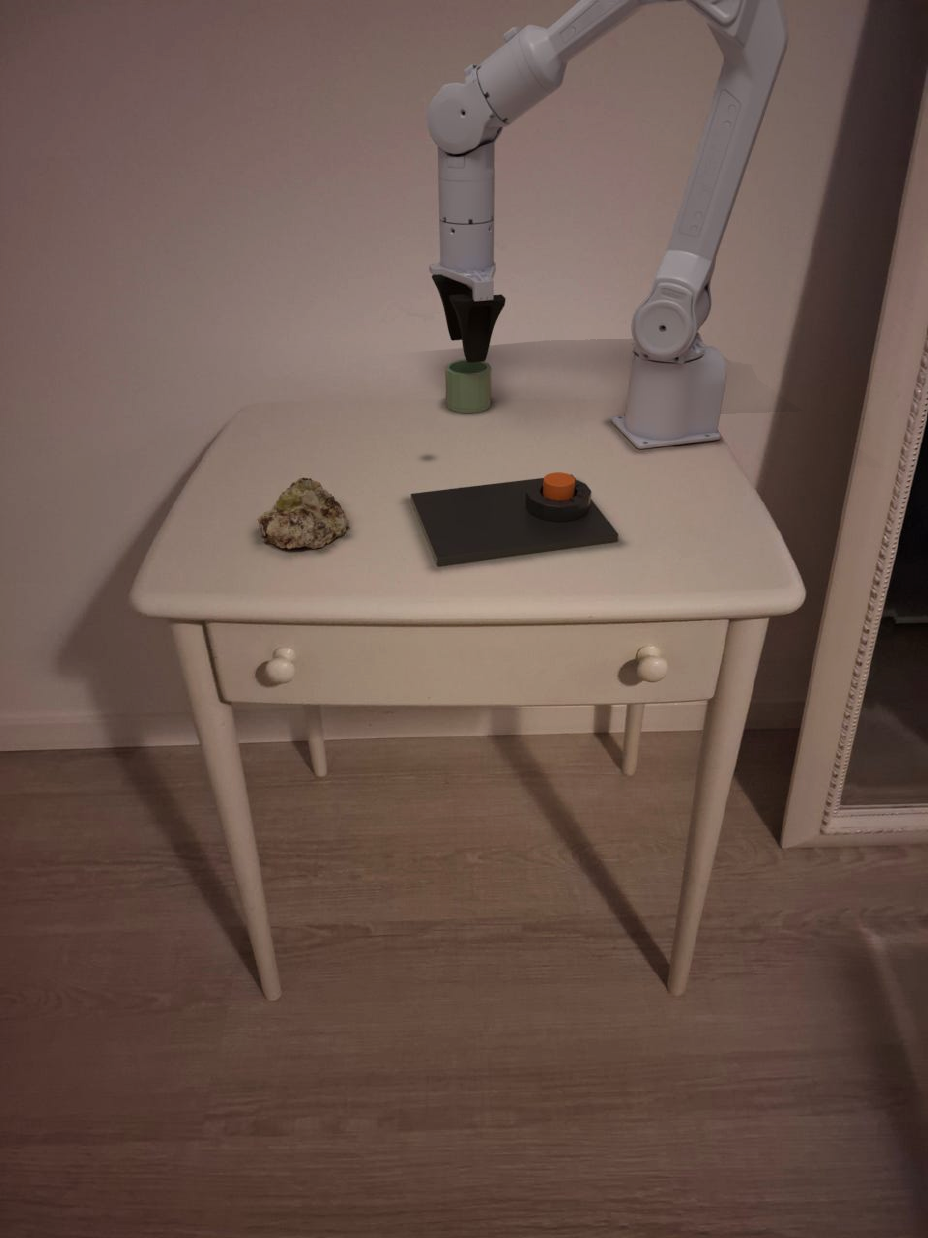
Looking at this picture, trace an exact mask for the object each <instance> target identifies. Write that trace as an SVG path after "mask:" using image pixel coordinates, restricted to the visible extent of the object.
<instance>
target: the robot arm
mask: <svg viewBox="0 0 928 1238" xmlns="http://www.w3.org/2000/svg"><path fill="white" fill-rule="evenodd" d="M680 2H684V3H686V4H687V5H688V6H689V7H690V8H691V9H693V10H694V11H695V12H696V13H697V14H698V15H699V16H700V17H701V18H703V20H704V21H705V22H706V25H707V27H708V29H709V30H710V33H711V34H712V36H713V39H714V40H715V42H716V44H717V46H718V48H719V50H720V52H721V54H722V56H723V63H722V66H721V69H720V72H719V76H718V79H717V83H716V86H715V89H714V92H713V96H712V99H711V102H710V104H709V105H710V106H709V109H708V111H707V114H706V115H707V116H706V119H705V122H704V126H703V128H702V132H701V135H700V139H699V142H698V145H697V149H696V152H695V156H694V159H693V162H692V166H691V169H690V172H689V175H688V178H687V182H686V185H685V188H684V192H683V195H682V199H681V202H680V204H679V208H678V212H677V216H676V218H675V222H674V224H673V228H672V232H671V235H670V238H669V241H668V242H669V243H668V244H667V247H666V251H665V254H664V256H663V259H662V260H661V263H660V265H659V268H658V269H657V272H656V274H655V276H654V280H653V283H652V286H651V289H650V290H649V291H650V292H649V293H648V295H646V297H645V299H644V300H643V301H642V302H641V303H640V304H639V305H638V306H637V308H636V309H635V310H634V313H633V315H632V319H631V324H630V325H631V336H632V339H633V343H632V351H631V360H630V370H629V380H628V390H627V401H626V407H625V408H626V410H625V414H624V415H615V416H612V417H611V419H610V421H611V423H612V424H613V425H614V426H615V427H616V428H617V429H618V430H619V431H620V432H621V433H622V435H624V436H625V437H626V438H627V439H628V440H629V441H630V442H631V443H632V444H633V445H634V446H635V448H637V449H641V450H643V449H652V448H661V447H669V446H679V445H686V444H695V443H703V442H711V441H712V442H713V441H719V440H720V439H721V434H720V433H719V432H718V430H719V425H720V419H721V413H722V409H723V408H722V407H723V403H724V396H725V390H726V383H727V366H726V361H725V357H724V355H723V353H722V352H721V350H719V348H717V346H713V345H705V343H704V342H703V339H702V337H701V334H700V333H699V330H700V328H701V327H702V326H703V325H704V323H705V322H706V320H707V319H708V318H709V315H710V313H711V311H712V304H713V303H712V301H713V300H712V293H711V282H712V278H713V275H714V272H715V268H716V262H717V256H718V253H719V250H720V247H721V244H722V241H723V239H724V235H725V233H726V230H727V226H728V224H729V220H730V218H731V214H732V212H733V209H734V206H735V202H736V200H737V197H738V193H739V191H740V188H741V186H742V182H743V180H744V176H745V173H746V170H747V167H748V165H749V162H750V158H751V155H752V153H753V150H754V147H755V145H756V141H757V138H758V134H759V132H760V129H761V126H762V123H763V120H764V116H765V114H766V112H767V108H768V106H769V102H770V99H771V97H772V94H773V92H774V91H773V90H774V88H775V84H776V82H777V78H778V75H779V72H780V70H781V67H782V64H783V61H784V58H785V55H786V52H787V49H788V44H789V38H790V36H789V28H788V24H787V23H788V22H787V16H786V12H785V7H784V1H783V0H578V2H577V3H575V4H574V6H572V7H571V8H570V9H569V10H568V11H567V12H565V13H564V14H563V15H562V16H561V17H560V18H558V19H557V20H556V21H555V22H553V23H552V24H551V25H550V26H549V27H548V28H546V27H543V26H539V25H536V24H527V25H526V26H525V27H523V28H522V29H521V27H520V26H514V27H513V26H512V27H511V28H510V29H508V30H507V31H506V32H505V33H504V34H503V40H504V42H505V43H504V44H503V45H501V46H500V47H499V48H498V49H496V50H495V51H494V52H493V53H491V54H490V55H489V56H488V57H487V58H486V59H484V60H483V61H482V62H481V63H480V64H478V65H477V64H476V63H471V64H470V65H468V66H467V67H466V68H465V69H464V71H463V74H464V75H465V78H464V82H462V83H461V82H449V83H446V84H443V85H442V86H441V87H440V89H439V91H438V92H437V93H436V94H435V95H434V96H433V97H432V100H431V101H430V103H429V106H428V110H427V118H426V120H427V121H426V123H427V129H428V132H429V135H430V137H431V139H432V140H433V142H434V143H435V145H436V146H437V183H438V184H437V187H438V188H437V189H438V193H437V194H438V225H439V226H438V228H439V231H438V232H439V262H437V263H430V264H429V265H428V270H429V273H430V274H431V279H432V280H433V281H432V282H433V283H434V285H435V287H436V289H437V292H438V294H439V297H440V300H441V303H442V307H443V311H444V316H445V317H444V318H445V322H446V326H447V331H448V335H449V338H450V341H451V342H453V341H461V342H462V351H463V354H464V359H466V361H467V362H468V363H470V362H481V361H485V362H487V361H486V360H487V357H488V354H489V349H490V345H491V340H492V336H493V332H494V328H495V326H496V324H497V321H498V318H499V316H500V314H501V312H502V311H503V309H504V307H505V305H506V300H507V299H506V297H505V296H504V295H503V294H501V293H500V294H494V293H495V292H494V290H495V289H494V288H495V287H494V285H495V284H494V283H495V281H494V277H495V274H496V268H497V266H496V264H497V263H496V262H495V199H496V198H495V192H496V191H495V190H496V189H495V188H496V186H495V185H496V183H495V182H496V168H495V150H496V149H495V145H496V144H495V143H496V141H497V140H498V139H499V137H500V136H501V134H502V132H503V129H504V128H507V127H509V126H510V125H511V124H513V123H514V122H516V121H517V120H518V119H519V118H521V117H522V116H524V115H525V114H526V113H528V112H529V111H530V110H531V109H533V108H534V107H536V106H537V105H539V104H540V102H542V101H544V100H545V99H546V98H548V97H549V96H550V95H552V94H553V93H555V92H556V91H557V90H559V88H561V87H562V85H563V81H564V77H565V73H566V71H567V65H568V63H569V62H570V61H571V60H573V59H574V58H575V57H577V56H579V55H580V54H581V53H583V52H584V51H585V50H587V49H588V48H590V47H591V46H592V45H594V44H595V43H597V42H599V40H601V39H602V38H604V37H605V36H607V35H608V34H609V33H611V32H612V31H614V30H615V29H617V28H619V26H621V25H622V24H624V22H626V21H628V20H630V18H632V17H633V16H635V15H636V14H638V13H639V12H640V11H641V10H642V11H643V9H645V8H647V7H652V6H657V5H665V4H673V3H680Z"/></svg>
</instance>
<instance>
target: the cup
mask: <svg viewBox="0 0 928 1238" xmlns="http://www.w3.org/2000/svg"><path fill="white" fill-rule="evenodd" d="M444 383H445V384H444V385H445V405H446V407H447V409H448V410H450V411H452V412H454V413H455V412H456V413H460V414H474V413H475V414H477V413H481V412H484V411H486V410H488V409H489V408H490V407H491V405H492V365H491V364H490V363H489V362H487V361H481V362H470V363H468V362H467V361H466V358H464V359H457V360H453V361H450V362H448V363H447V364H446V365H445V367H444Z"/></svg>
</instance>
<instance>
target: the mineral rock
mask: <svg viewBox="0 0 928 1238" xmlns="http://www.w3.org/2000/svg"><path fill="white" fill-rule="evenodd" d="M256 520H257V522H258V524H259V525H258V526H259V530H260V532H261V541H262V542H263V543H265V544H267V543H270V544H273V545H275V546H277V547H278V548H280V549H285V548H287V549H288V550H290V549H295V548H298V549H299V548H304V547H307V548H310V549H313V550H315V549H319V548H324V547H325V545H326V544H330V543H331V542H332V541H333V540H335V539H336V538H339V537H341V536H343V535H344V534H345V532H347V527H348V525H350V520H349V519H347V515H346V513H345V510H343V508H342V505H341V503H339V502H338V500H336V499H335V496H334V495H332V493H329V491H327V490H326V489H324V488H323V486H322V484H321V482H320V481H317V480H313V479H312V477H310V478H308V477H300V478H298V479H296V481H294V482H291V484H290V485H289V487H288V488H286V489H285V491H282V493H281V494H280V495H279V496H278V498H277V499H276V501H275V504H274V505H272V508H270V510H269V511H268V510H267V511H264V512H263V513H262V514H261V515H260V516H258V518H257V519H256Z"/></svg>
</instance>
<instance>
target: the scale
mask: <svg viewBox="0 0 928 1238" xmlns="http://www.w3.org/2000/svg"><path fill="white" fill-rule="evenodd" d="M569 474H570V473H569ZM570 475H572V476H573V477H574V478H575V490H574V496H573V498H571V499H567V500H553V499H549V498H546V497H544V496H543V481H544V477H538V478H530V479H529V478H528V479H522V480H513V481H505V482H497V483H488V484H480V485H471V486H465V487H464V486H463V487H456V488H447V489H438V490H432V491H431V490H429V491H423V492H415V493H414V492H413V493H410V503H411V505H412V509H413V511H414V513H415V515H416V518H417V520H418V523H419V526H420V528H421V530H422V533H423V536H424V537H425V540H426V542H427V545H428V547H429V551H430V553H431V555H432V557H433V560H434V562H435V565H436V567H437V568H439V567H446V566H447V567H448V566H454V565H461V564H469V563H476V562H483V561H491V560H497V559H505V558H513V557H519V556H520V557H521V556H528V555H535V554H542V553H549V552H555V551H565V550H572V549H578V548H579V549H580V548H584V547H593V546H601V545H607V544H614V543H615V544H616V543H618V542H619V541H618V540H619V532H617V530H616V529H615V528H614V526H613V525H612V524H611V522H610V521H609V519H607V517H606V516H605V514H604V513H603V512H602V511H601V510H600V508H599V507H598V506H597V504H596V503H595V502H594V501H593V499H592V490H591V488H590V487H589V486H588V484H586V483H585V482H582V481H580V480H578V479H577V478H576V477H575V475H573V474H572V473H571V474H570Z"/></svg>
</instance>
